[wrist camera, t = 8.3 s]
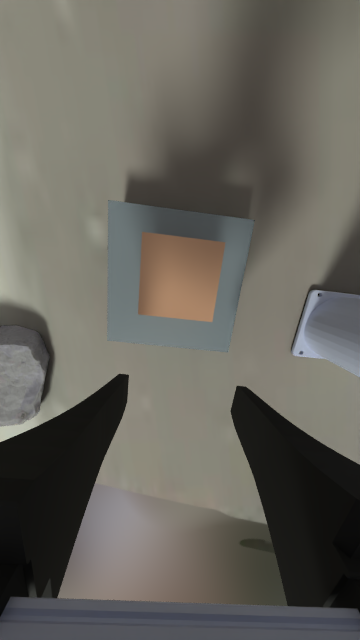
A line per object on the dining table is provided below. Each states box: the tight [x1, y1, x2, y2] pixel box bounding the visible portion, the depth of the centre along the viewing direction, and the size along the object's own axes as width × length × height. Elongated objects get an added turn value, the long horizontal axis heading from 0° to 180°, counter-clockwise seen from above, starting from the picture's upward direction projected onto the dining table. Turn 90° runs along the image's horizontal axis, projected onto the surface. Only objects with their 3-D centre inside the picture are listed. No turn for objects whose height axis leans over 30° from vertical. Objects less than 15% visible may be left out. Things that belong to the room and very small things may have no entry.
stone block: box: [0, 325, 50, 426], centre depth 19 cm, size 12×5×10 cm
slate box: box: [107, 200, 255, 352], centre depth 17 cm, size 12×12×4 cm
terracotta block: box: [138, 232, 226, 322], centre depth 13 cm, size 5×5×4 cm
